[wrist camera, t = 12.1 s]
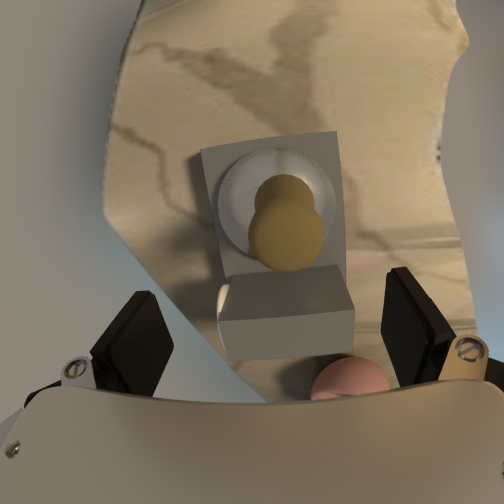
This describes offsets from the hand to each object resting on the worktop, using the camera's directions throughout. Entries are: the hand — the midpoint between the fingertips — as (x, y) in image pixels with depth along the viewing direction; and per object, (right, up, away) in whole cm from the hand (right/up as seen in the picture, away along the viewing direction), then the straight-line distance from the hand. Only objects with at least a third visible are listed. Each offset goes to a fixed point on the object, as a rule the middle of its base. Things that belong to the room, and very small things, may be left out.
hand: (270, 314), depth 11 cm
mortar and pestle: (+14, -16, +30) cm, 37 cm away
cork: (+3, +7, +17) cm, 19 cm away
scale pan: (+2, +7, +18) cm, 20 cm away
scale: (+3, +6, +22) cm, 23 cm away
